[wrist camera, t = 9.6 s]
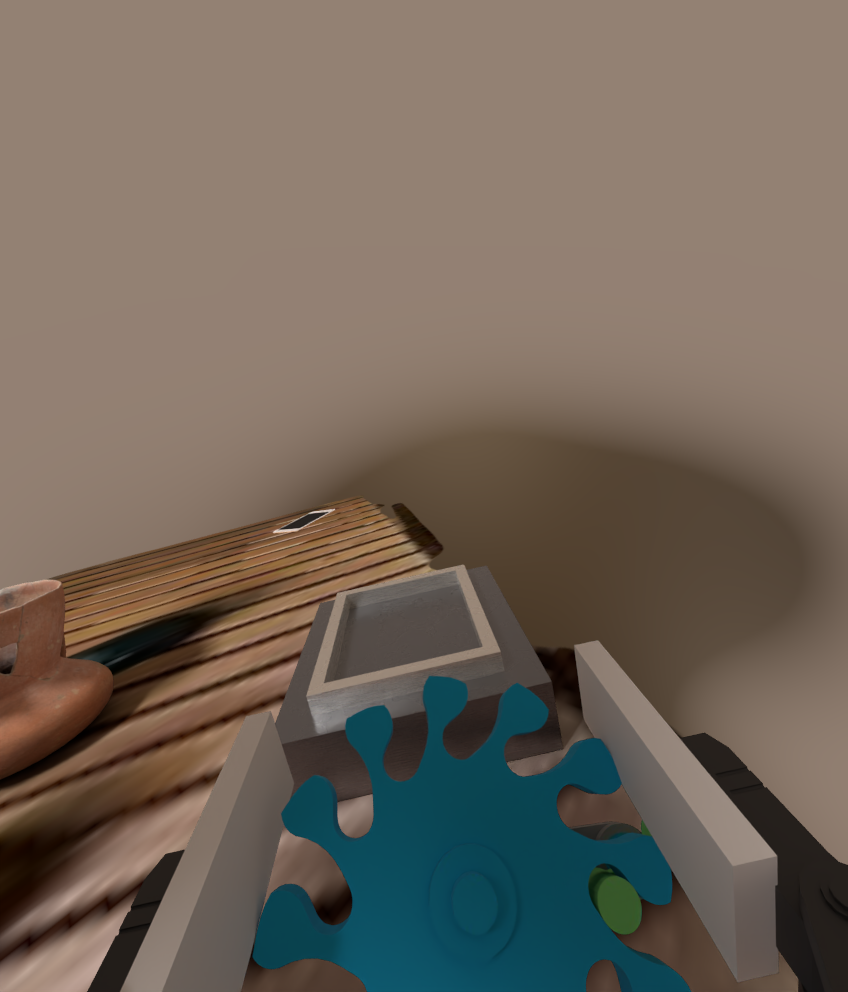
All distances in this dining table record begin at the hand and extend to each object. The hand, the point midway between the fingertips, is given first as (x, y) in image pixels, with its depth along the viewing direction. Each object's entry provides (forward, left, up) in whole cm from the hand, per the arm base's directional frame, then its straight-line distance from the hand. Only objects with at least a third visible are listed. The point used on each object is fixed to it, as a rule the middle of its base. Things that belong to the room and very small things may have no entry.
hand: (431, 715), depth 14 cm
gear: (+1, -3, -6) cm, 7 cm away
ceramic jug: (-39, +27, -14) cm, 50 cm away
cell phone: (-27, +97, -15) cm, 102 cm away
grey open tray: (-2, +22, -14) cm, 26 cm away
